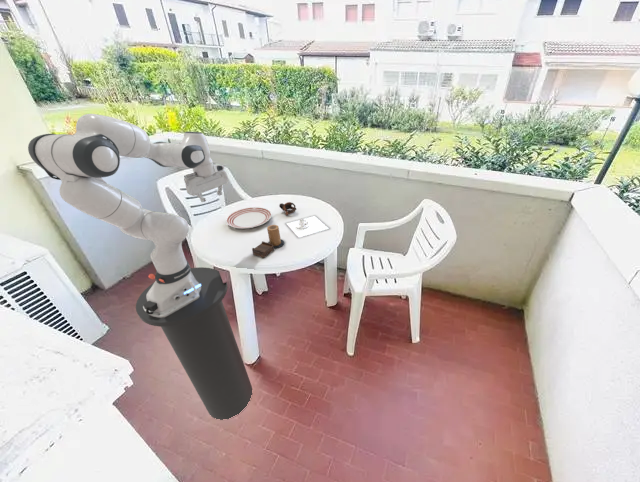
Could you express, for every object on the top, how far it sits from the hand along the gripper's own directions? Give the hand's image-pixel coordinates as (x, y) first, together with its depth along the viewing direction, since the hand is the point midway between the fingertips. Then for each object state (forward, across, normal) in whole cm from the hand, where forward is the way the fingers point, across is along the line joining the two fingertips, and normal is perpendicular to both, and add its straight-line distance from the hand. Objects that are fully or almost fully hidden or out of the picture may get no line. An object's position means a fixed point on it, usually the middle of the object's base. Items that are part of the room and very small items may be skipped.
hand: (212, 198), depth 135 cm
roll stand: (+30, +8, -19) cm, 36 cm away
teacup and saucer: (+30, +43, -23) cm, 57 cm away
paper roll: (+24, +17, -19) cm, 35 cm away
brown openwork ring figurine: (+29, +52, 0) cm, 60 cm away
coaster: (+30, +18, -19) cm, 40 cm away
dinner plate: (+30, +31, +13) cm, 45 cm away
